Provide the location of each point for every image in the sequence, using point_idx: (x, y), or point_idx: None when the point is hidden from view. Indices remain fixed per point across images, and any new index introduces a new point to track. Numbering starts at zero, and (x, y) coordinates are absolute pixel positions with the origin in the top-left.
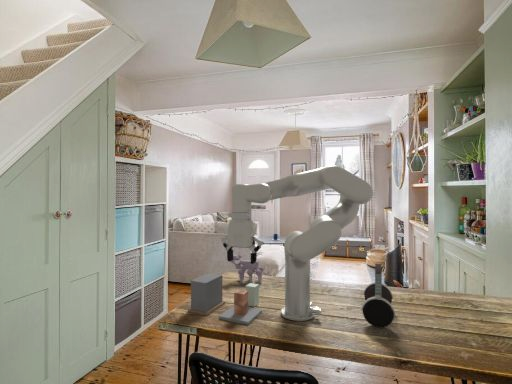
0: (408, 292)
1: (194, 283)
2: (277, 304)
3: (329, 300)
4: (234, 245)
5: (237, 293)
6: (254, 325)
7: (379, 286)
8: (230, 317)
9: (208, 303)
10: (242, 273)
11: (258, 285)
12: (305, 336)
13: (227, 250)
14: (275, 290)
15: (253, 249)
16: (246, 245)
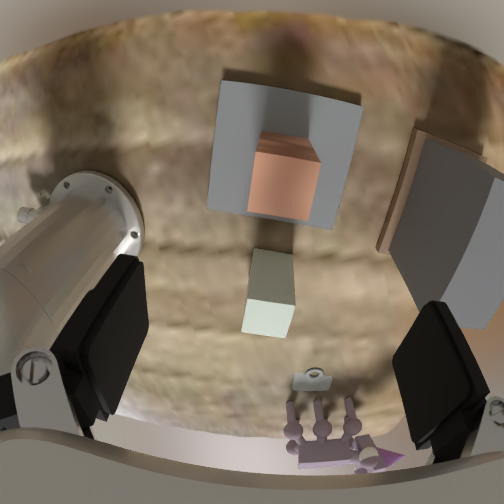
0: None
1: None
2: (181, 283)
3: None
4: (433, 496)
5: (297, 158)
6: (199, 85)
7: None
8: (311, 102)
9: (432, 163)
10: (346, 422)
11: (242, 326)
12: (40, 87)
13: (491, 401)
14: (228, 374)
15: (14, 393)
16: (44, 482)
